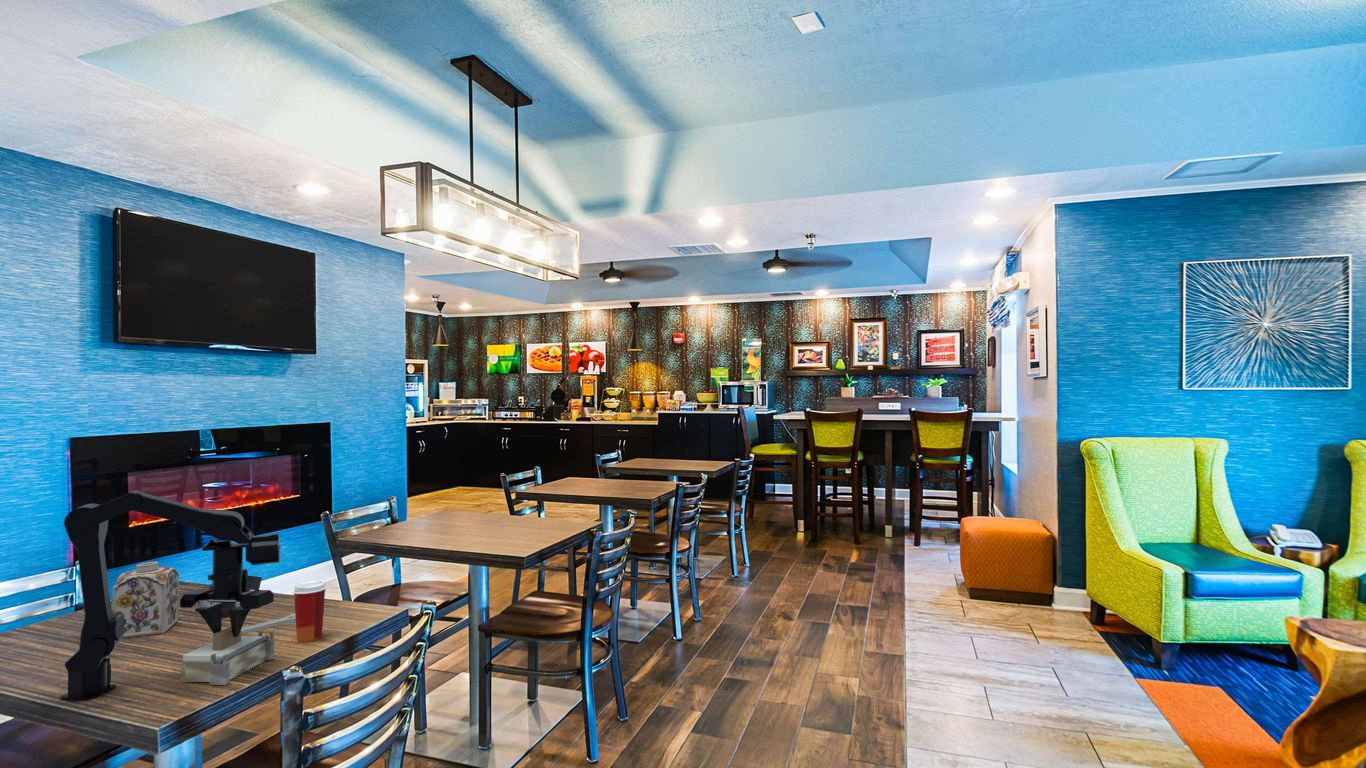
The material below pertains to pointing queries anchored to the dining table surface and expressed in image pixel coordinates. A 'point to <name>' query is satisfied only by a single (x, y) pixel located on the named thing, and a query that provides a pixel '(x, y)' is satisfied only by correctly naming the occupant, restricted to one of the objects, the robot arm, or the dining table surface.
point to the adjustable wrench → (267, 624)
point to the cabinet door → (224, 646)
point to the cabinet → (227, 664)
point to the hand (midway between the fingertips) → (227, 636)
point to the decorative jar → (147, 599)
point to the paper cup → (309, 610)
